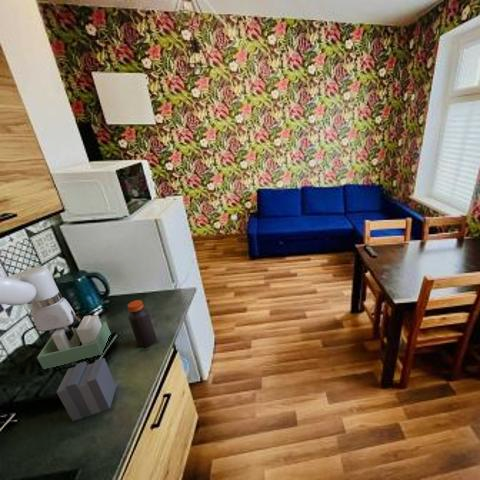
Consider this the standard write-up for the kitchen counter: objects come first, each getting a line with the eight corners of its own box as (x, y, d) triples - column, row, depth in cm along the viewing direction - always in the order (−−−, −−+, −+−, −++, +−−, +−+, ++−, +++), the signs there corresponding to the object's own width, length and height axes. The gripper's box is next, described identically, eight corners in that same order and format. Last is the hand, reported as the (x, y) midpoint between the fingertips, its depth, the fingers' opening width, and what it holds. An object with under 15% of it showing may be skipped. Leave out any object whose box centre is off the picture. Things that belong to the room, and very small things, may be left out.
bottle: (143, 337, 115) (130, 299, 108) (159, 336, 116) (148, 298, 108) (134, 349, 109) (120, 309, 101) (152, 348, 110) (139, 308, 102)
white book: (64, 362, 102) (51, 336, 97) (73, 346, 110) (61, 321, 105) (72, 360, 103) (59, 334, 98) (80, 344, 111) (69, 319, 106)
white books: (87, 356, 105) (75, 330, 100) (94, 341, 113) (83, 316, 108) (101, 352, 107) (90, 327, 102) (107, 338, 114) (97, 313, 109)
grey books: (72, 421, 82) (54, 389, 77) (82, 396, 90) (67, 366, 84) (109, 409, 86) (95, 377, 80) (116, 386, 93) (103, 356, 88)
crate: (45, 373, 99) (36, 357, 96) (60, 347, 110) (53, 333, 107) (102, 357, 105) (96, 342, 102) (111, 335, 117) (106, 321, 114)
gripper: (11, 311, 90) (34, 352, 98) (71, 299, 96) (88, 339, 104) (23, 299, 97) (43, 338, 104) (78, 289, 103) (94, 327, 110)
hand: (66, 338), depth 104 cm, fingers closed on white book, 2 cm apart
